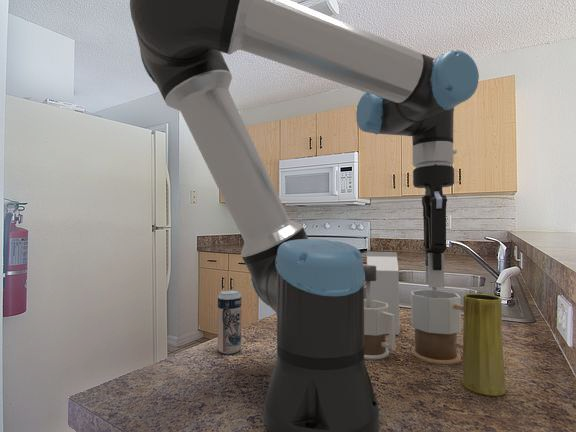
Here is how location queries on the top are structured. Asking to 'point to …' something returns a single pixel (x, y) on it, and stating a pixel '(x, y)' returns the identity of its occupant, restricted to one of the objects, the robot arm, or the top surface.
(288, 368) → the robot arm
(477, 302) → the vase
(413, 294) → the press copper
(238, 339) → the beer can
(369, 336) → the press cream
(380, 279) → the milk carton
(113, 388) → the top surface
